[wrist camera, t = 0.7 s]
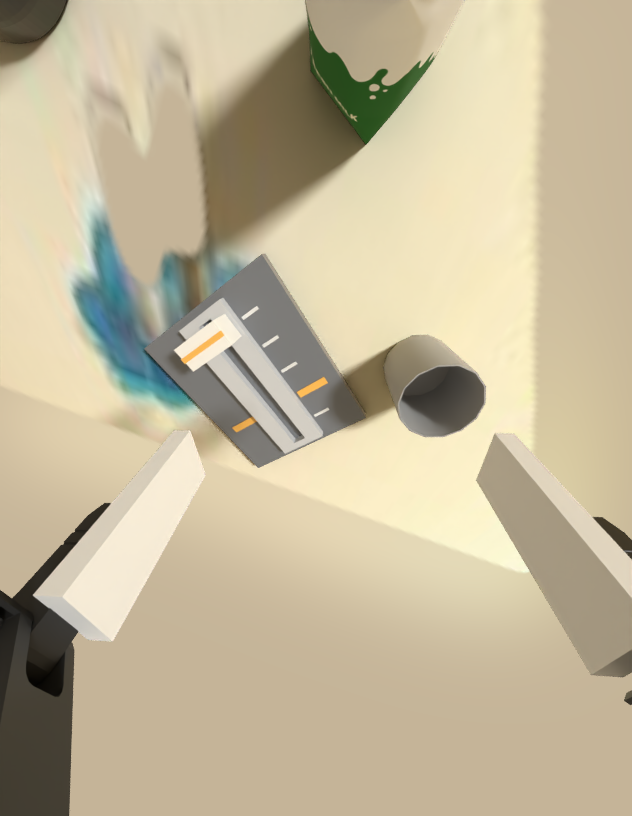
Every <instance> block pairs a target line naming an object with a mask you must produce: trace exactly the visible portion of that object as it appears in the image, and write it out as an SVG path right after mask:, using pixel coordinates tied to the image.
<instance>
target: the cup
mask: <svg viewBox="0 0 632 816" xmlns="http://www.w3.org/2000/svg"><path fill="white" fill-rule="evenodd" d="M383 369H384V374H385V380H386V382H387V385H388V388H389V391H390V393H391V396H392V399H393V402H394V404H395V407H396V410H397V413H398V415H399V418H400V420H401V421H402V423H403V424H404V425H405V426H406V427H407V428H408V429H409V431H411V432H414V433H416V434H419V435H421V436H424V437H445V436H447V435H450V434H453V433H456V432H459V431H461V430H463V429H464V428H465V427H467V426H468V425H469V424H470V423H472V422H473V421H474V420H476V419H477V417H478V415H479V413H480V412H481V410H482V408H483V407H484V405H485V401H486V386H485V384H484V383H483V381H482V380H481V378H480V377H479V375H478V374H477V372H476V371H474V370H473V369H472V368H471V367H470V366H469V365H468V364H467V363H465V362H464V361H463V360H462V359H461V358H460V357H459V356H458V355H456V354H455V353H454V352H453V351H452V350H451V349H450V348H449V347H447V346H446V345H445V344H444V343H443V342H442V341H440V340H438V339H436V338H434V337H432V336H430V335H412V336H410V337H408V338H406V339H404V340H402V341H400V342H398V343H397V344H396V345H395V346H394V347H393V348H392V349H391V351H390V352H389V353H388V354H387V357H386V360H385V363H384V366H383Z"/></svg>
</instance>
